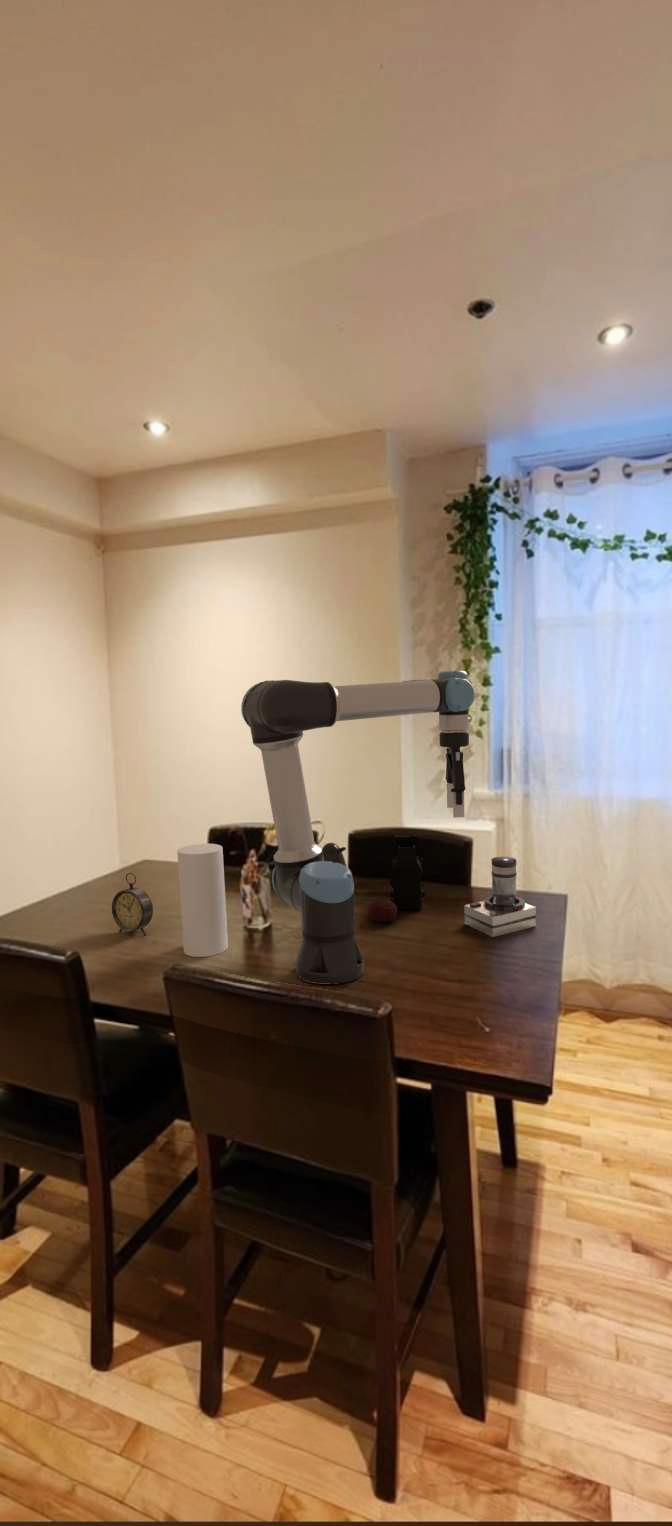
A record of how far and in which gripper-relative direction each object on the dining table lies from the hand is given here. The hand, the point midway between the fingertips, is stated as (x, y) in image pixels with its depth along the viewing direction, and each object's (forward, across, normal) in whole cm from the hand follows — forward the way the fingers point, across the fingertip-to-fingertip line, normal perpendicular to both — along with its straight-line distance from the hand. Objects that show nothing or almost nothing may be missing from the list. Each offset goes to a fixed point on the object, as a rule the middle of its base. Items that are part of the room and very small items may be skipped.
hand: (455, 812), depth 177 cm
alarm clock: (+29, -6, +85) cm, 90 cm away
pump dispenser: (+29, +26, +35) cm, 52 cm away
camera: (+29, +14, +12) cm, 34 cm away
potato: (+29, -1, +20) cm, 35 cm away
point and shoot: (+29, -6, -10) cm, 31 cm away
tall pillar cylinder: (+29, -18, +63) cm, 72 cm away
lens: (+24, -5, -11) cm, 27 cm away
